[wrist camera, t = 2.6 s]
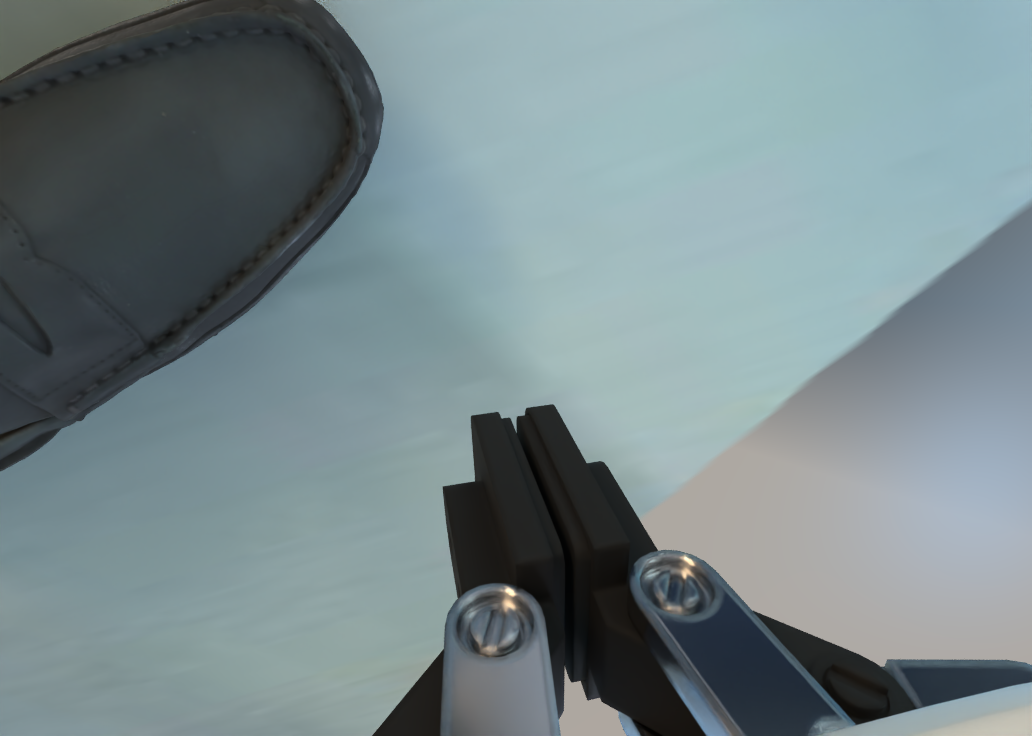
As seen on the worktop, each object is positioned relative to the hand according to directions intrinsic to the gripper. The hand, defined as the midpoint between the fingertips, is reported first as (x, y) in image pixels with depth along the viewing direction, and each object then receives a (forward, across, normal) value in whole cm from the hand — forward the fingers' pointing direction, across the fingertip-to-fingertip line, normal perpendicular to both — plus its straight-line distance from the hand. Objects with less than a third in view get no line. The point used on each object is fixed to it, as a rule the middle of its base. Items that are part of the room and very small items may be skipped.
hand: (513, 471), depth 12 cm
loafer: (+16, +15, -1) cm, 22 cm away
